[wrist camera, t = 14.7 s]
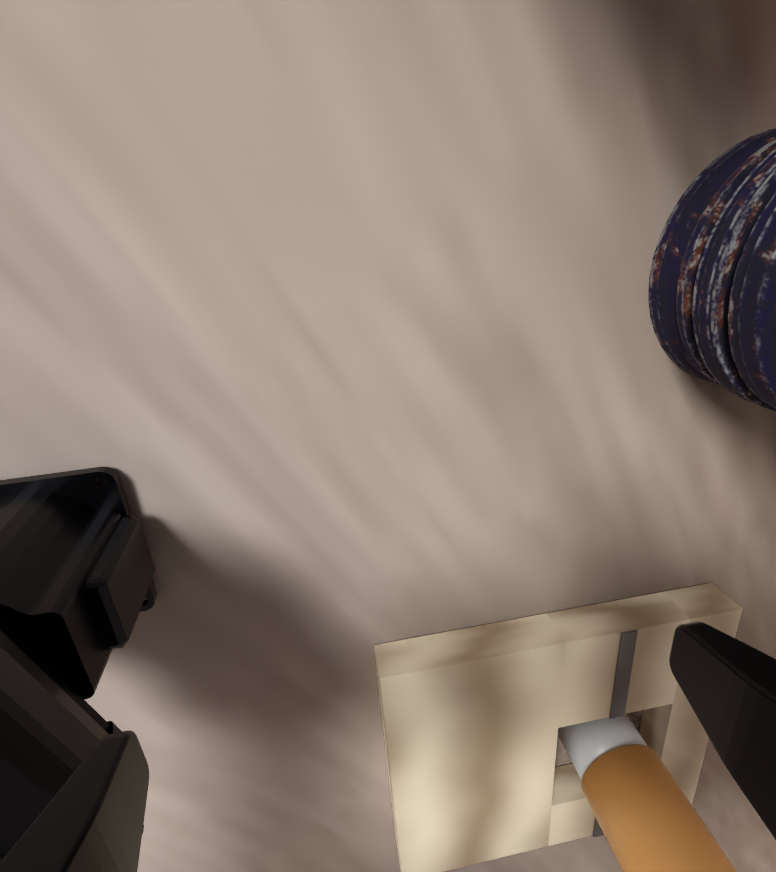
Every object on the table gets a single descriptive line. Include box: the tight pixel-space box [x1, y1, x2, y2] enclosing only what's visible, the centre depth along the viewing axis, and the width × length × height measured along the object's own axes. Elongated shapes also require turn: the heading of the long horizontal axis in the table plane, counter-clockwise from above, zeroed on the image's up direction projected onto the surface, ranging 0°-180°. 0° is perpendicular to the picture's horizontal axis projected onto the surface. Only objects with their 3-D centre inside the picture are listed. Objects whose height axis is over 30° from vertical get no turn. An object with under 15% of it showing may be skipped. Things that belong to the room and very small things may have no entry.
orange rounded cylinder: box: [558, 714, 736, 872], centre depth 25 cm, size 4×4×12 cm
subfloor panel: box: [374, 583, 743, 872], centre depth 29 cm, size 18×16×2 cm
